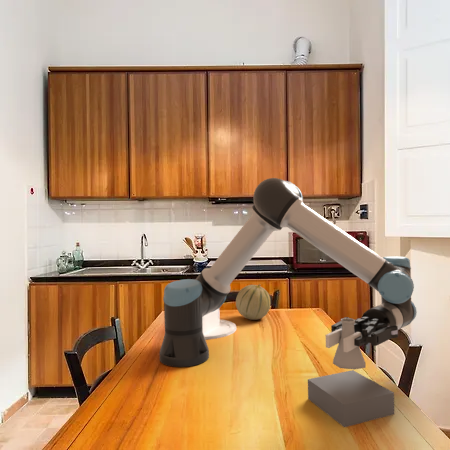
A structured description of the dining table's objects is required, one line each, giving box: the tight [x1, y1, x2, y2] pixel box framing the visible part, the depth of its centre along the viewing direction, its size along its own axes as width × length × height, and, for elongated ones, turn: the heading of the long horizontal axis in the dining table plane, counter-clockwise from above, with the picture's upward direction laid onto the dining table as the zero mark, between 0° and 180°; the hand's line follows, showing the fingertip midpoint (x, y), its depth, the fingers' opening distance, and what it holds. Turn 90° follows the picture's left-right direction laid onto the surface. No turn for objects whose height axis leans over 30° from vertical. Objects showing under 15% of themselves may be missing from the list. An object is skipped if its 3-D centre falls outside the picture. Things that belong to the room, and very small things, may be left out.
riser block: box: [307, 369, 395, 428], centre depth 83 cm, size 13×13×5 cm
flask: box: [332, 317, 366, 371], centre depth 83 cm, size 7×7×10 cm
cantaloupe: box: [235, 283, 271, 321], centre depth 159 cm, size 15×15×15 cm
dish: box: [202, 308, 237, 341], centre depth 145 cm, size 25×25×11 cm
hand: (336, 343), depth 79 cm, fingers closed on flask, 3 cm apart
